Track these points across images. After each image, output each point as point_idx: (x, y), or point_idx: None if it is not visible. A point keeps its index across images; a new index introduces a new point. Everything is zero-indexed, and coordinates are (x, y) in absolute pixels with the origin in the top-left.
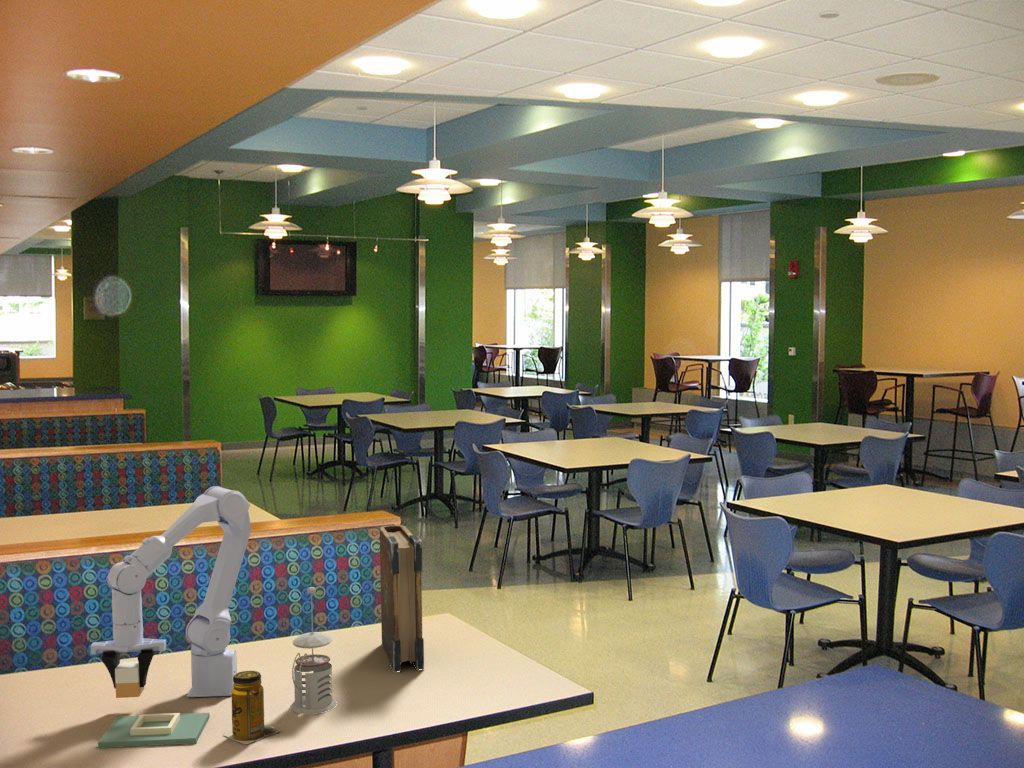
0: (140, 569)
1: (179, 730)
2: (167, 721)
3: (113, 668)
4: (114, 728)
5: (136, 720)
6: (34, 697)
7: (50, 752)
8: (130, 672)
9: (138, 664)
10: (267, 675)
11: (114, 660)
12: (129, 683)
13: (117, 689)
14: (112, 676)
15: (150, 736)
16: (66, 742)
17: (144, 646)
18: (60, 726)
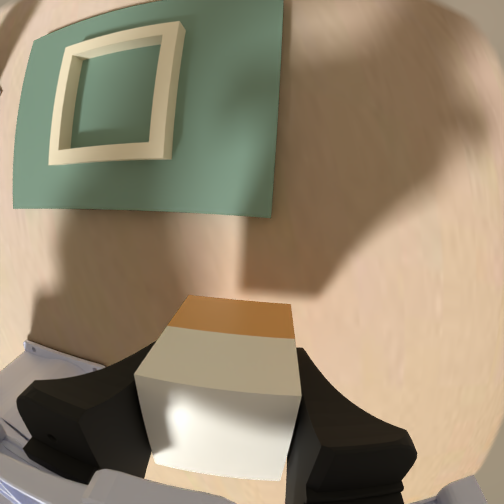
0: None
1: (58, 76)
2: (88, 143)
3: (313, 406)
4: (255, 91)
5: (168, 97)
6: (477, 412)
7: (412, 16)
8: (192, 366)
9: (157, 429)
10: None
11: (309, 454)
12: (215, 330)
13: (283, 321)
14: (317, 377)
15: (125, 27)
16: (398, 66)
17: (17, 471)
18: (447, 213)
